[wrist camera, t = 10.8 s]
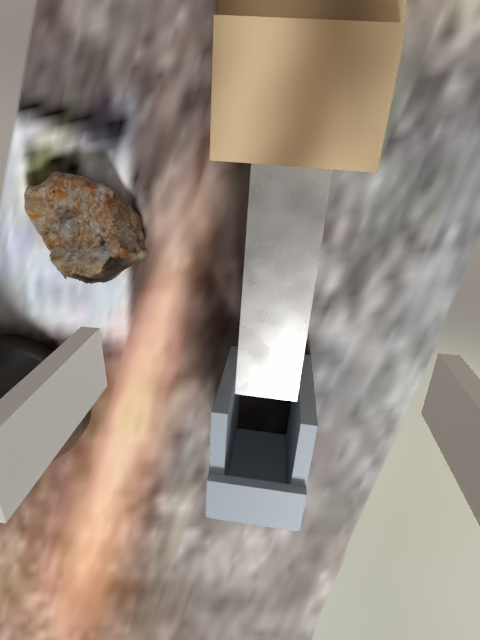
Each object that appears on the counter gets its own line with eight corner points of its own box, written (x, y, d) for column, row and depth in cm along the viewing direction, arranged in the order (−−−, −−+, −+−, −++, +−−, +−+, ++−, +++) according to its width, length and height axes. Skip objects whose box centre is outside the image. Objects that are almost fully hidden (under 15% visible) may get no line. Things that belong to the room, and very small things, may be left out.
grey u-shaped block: (225, 435, 42) (205, 525, 32) (231, 345, 37) (209, 419, 27) (296, 444, 41) (297, 540, 31) (310, 355, 36) (318, 433, 26)
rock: (167, 235, 34) (79, 134, 29) (141, 273, 29) (33, 162, 25) (109, 274, 38) (25, 192, 34) (79, 312, 34) (-22, 224, 30)
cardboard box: (237, 155, 30) (209, 160, 20) (244, 44, 27) (214, -20, 16) (346, 163, 29) (377, 172, 19) (365, 50, 26) (414, -13, 16)
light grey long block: (247, 337, 36) (234, 394, 28) (264, 123, 28) (253, 114, 20) (295, 342, 36) (297, 402, 27) (326, 127, 28) (341, 119, 20)
